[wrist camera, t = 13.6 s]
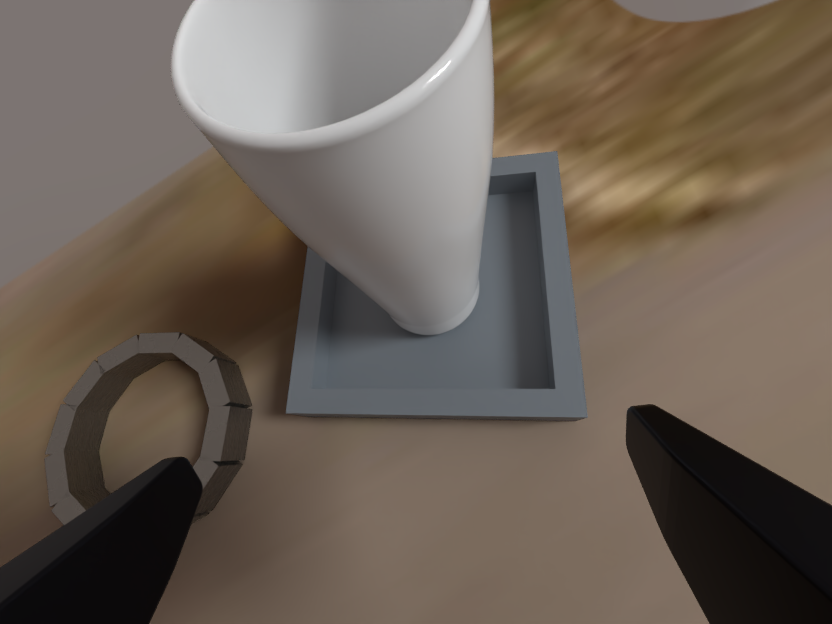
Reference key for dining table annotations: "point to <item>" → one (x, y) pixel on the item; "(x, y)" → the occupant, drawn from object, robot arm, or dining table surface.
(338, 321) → the tray
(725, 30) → the dining table surface
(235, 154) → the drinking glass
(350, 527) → the dining table surface
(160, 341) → the holder ring
